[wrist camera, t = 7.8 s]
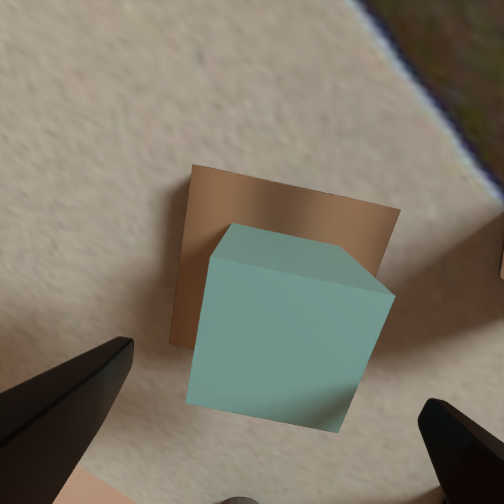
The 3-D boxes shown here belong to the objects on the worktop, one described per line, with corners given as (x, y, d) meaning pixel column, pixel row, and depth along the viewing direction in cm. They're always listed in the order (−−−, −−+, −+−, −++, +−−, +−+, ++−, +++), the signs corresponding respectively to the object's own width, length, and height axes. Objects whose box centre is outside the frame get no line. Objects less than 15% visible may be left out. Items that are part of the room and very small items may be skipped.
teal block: (339, 246, 14) (395, 296, 8) (309, 337, 15) (338, 433, 10) (232, 222, 14) (210, 256, 8) (213, 318, 15) (185, 403, 10)
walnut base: (375, 203, 16) (400, 209, 13) (325, 347, 19) (336, 377, 16) (205, 166, 16) (192, 164, 13) (183, 318, 19) (168, 343, 16)
